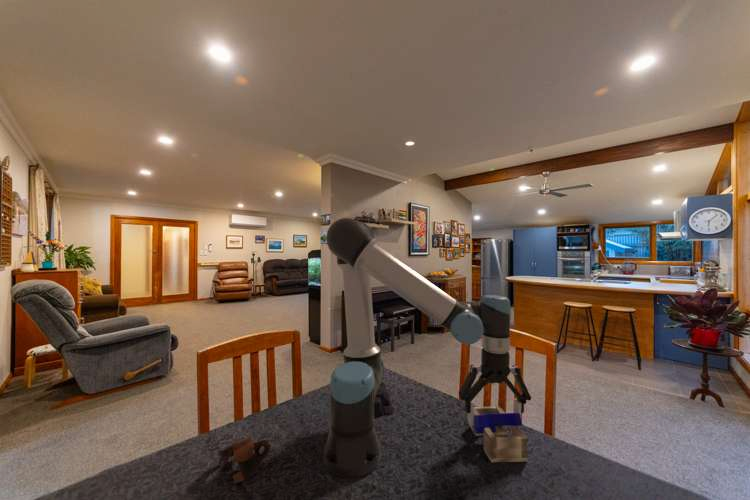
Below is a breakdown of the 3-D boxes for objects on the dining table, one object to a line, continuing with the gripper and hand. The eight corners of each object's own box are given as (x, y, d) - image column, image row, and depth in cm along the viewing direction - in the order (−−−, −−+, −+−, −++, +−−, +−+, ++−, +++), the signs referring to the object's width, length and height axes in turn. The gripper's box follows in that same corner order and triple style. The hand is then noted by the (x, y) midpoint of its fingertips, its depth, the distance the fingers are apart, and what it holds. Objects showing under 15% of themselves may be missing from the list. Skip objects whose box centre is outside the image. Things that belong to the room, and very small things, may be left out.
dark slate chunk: (390, 387, 121) (390, 375, 121) (393, 417, 99) (393, 403, 99) (352, 387, 121) (352, 376, 121) (347, 418, 99) (347, 403, 99)
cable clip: (474, 432, 86) (481, 434, 81) (471, 415, 88) (477, 415, 83) (514, 430, 87) (524, 431, 81) (510, 412, 89) (519, 413, 83)
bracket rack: (491, 462, 77) (491, 439, 77) (469, 426, 93) (469, 406, 93) (527, 461, 77) (527, 438, 77) (499, 425, 93) (499, 406, 93)
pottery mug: (221, 494, 68) (213, 455, 70) (227, 484, 76) (220, 450, 79) (274, 465, 73) (265, 430, 75) (275, 459, 81) (266, 427, 83)
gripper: (456, 353, 81) (454, 431, 81) (545, 354, 82) (544, 431, 82) (448, 345, 89) (447, 415, 89) (530, 345, 89) (529, 416, 89)
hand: (493, 423), depth 85 cm, fingers open, 13 cm apart
